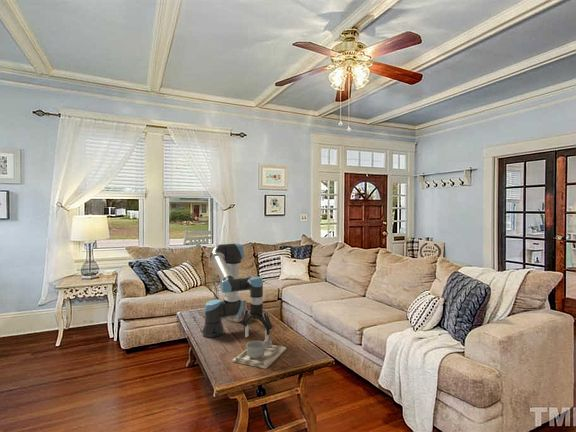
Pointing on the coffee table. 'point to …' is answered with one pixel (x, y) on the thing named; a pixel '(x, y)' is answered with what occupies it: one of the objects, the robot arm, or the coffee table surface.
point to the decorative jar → (241, 316)
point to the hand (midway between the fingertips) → (256, 338)
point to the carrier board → (269, 356)
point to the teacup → (256, 349)
